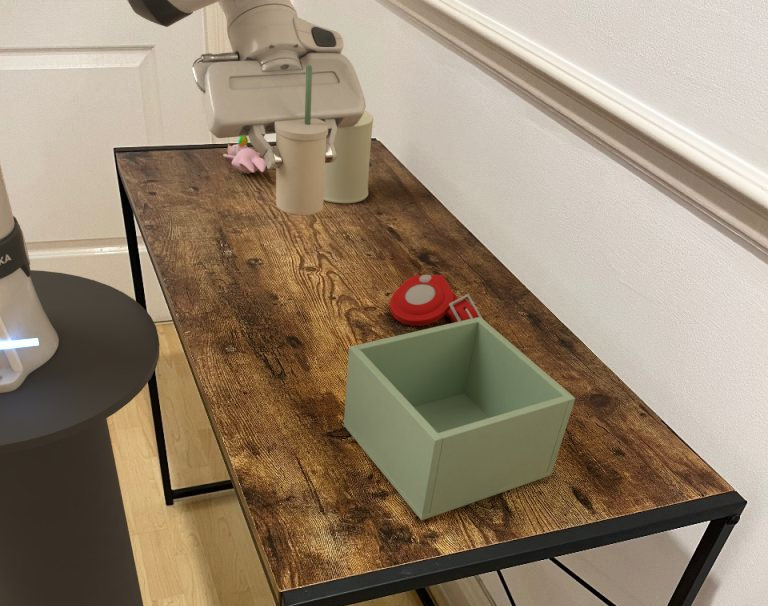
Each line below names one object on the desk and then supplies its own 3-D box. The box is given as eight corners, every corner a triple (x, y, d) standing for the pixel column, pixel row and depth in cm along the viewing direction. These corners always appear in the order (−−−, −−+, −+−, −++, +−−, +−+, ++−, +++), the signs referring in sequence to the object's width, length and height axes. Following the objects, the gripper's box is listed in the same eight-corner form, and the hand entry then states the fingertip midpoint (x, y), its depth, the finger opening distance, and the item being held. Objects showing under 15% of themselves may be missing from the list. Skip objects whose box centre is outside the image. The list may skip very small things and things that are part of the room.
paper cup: (287, 218, 96) (289, 74, 85) (266, 198, 100) (265, 58, 89) (333, 212, 99) (340, 72, 88) (311, 192, 103) (315, 55, 92)
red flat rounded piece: (381, 317, 96) (395, 263, 101) (388, 343, 99) (401, 290, 105) (479, 315, 93) (489, 260, 98) (483, 342, 96) (491, 288, 102)
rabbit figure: (218, 164, 132) (239, 184, 121) (215, 125, 129) (236, 142, 117) (254, 162, 134) (278, 182, 123) (252, 124, 131) (276, 141, 119)
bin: (421, 520, 72) (435, 440, 66) (343, 425, 82) (348, 346, 75) (551, 475, 79) (575, 398, 72) (465, 391, 88) (480, 316, 81)
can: (325, 206, 121) (328, 124, 112) (301, 183, 126) (303, 103, 118) (378, 200, 124) (384, 120, 116) (352, 178, 130) (357, 100, 121)
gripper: (193, 38, 87) (229, 159, 88) (352, 33, 96) (384, 144, 97) (182, 70, 93) (217, 184, 94) (334, 63, 102) (364, 167, 103)
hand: (303, 163), depth 96 cm, fingers closed on paper cup, 6 cm apart
